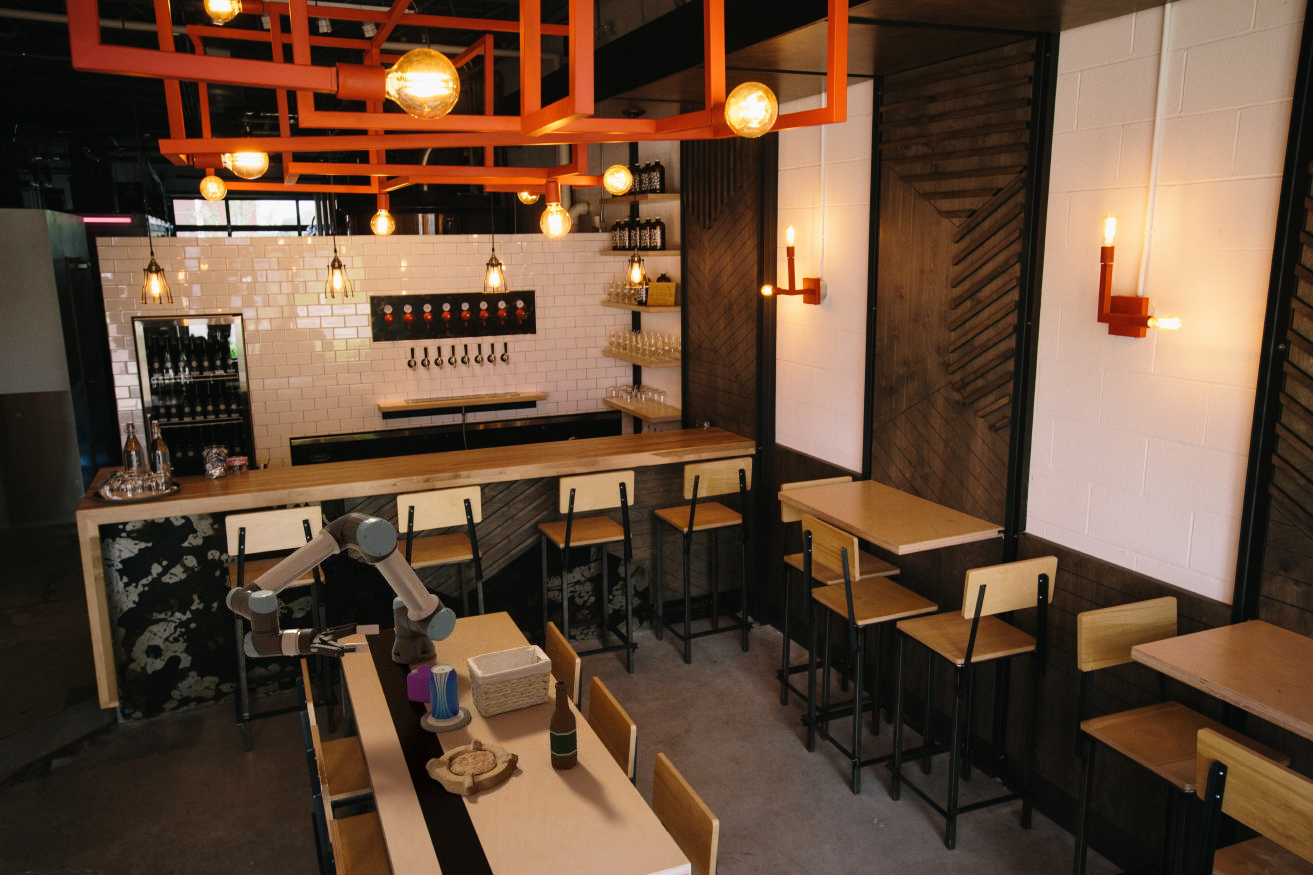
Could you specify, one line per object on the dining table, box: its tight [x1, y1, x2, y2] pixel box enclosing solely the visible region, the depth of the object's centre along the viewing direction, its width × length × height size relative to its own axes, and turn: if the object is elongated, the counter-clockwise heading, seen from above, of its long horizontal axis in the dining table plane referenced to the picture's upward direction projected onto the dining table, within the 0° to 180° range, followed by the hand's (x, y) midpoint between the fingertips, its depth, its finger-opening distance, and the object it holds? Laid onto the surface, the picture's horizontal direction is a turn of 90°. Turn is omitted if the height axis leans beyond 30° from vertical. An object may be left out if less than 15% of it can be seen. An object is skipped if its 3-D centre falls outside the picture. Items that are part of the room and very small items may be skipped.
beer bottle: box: [549, 680, 578, 771], centre depth 241 cm, size 8×8×24 cm
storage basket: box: [466, 644, 552, 717], centre depth 278 cm, size 24×16×15 cm
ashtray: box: [425, 737, 519, 796], centre depth 239 cm, size 24×24×5 cm
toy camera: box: [406, 664, 437, 704], centre depth 285 cm, size 11×14×10 cm
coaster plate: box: [420, 705, 472, 734], centre depth 268 cm, size 15×15×1 cm
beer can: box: [429, 663, 460, 722], centre depth 267 cm, size 8×8×16 cm
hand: (373, 637), depth 262 cm, fingers open, 13 cm apart
